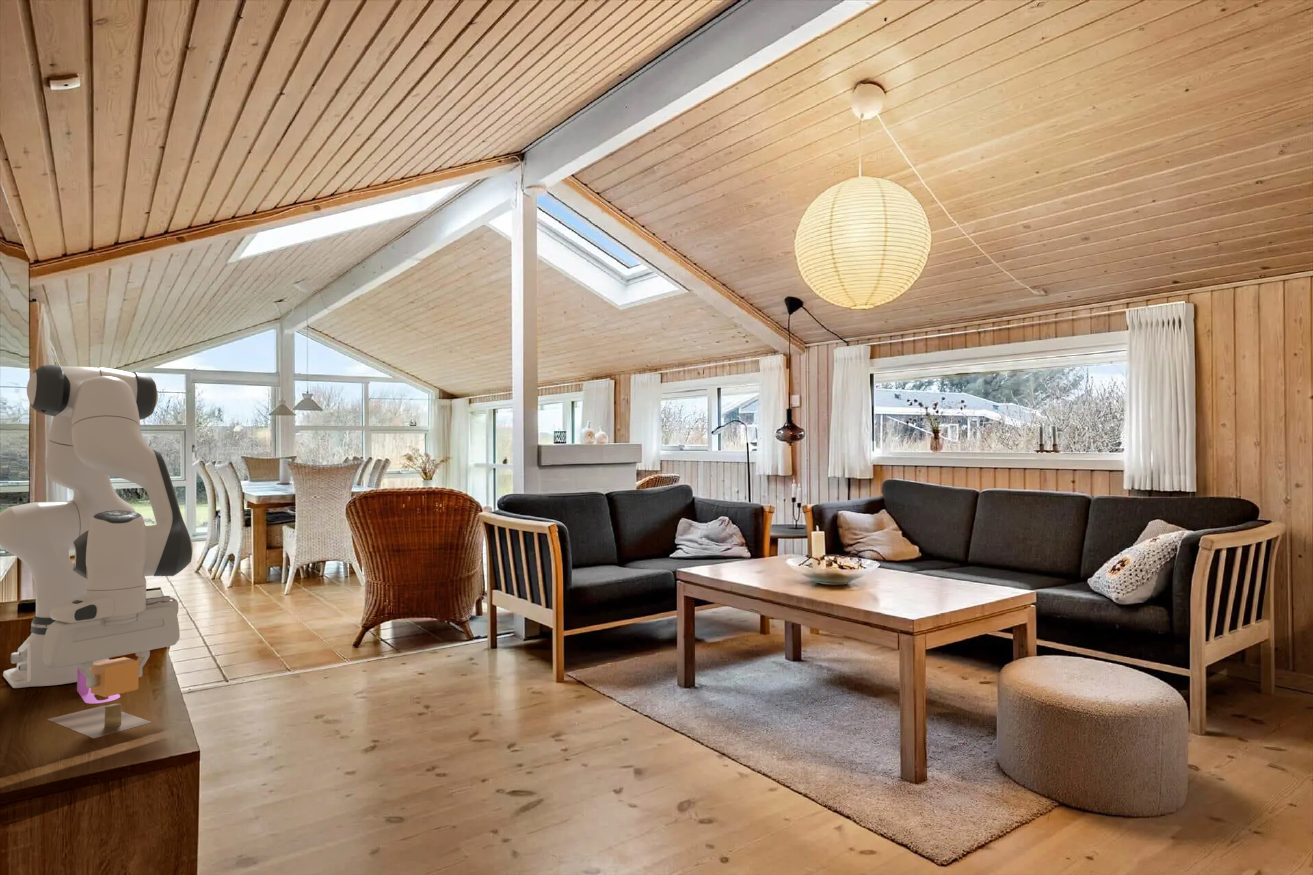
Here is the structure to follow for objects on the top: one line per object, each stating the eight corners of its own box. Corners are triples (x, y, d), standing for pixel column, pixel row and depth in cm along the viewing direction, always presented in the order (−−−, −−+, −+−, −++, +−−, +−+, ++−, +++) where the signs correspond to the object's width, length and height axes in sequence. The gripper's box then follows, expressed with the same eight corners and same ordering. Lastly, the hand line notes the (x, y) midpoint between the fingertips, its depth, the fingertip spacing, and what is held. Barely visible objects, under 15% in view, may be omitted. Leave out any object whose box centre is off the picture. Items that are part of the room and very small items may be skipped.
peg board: (46, 726, 135) (47, 699, 135) (104, 711, 143) (104, 686, 143) (93, 745, 126) (94, 717, 126) (152, 729, 133) (152, 702, 134)
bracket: (76, 697, 152) (77, 663, 152) (110, 691, 156) (111, 657, 156) (87, 712, 143) (88, 676, 143) (122, 706, 146) (123, 670, 147)
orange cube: (90, 692, 131) (91, 663, 131) (123, 685, 135) (124, 657, 135) (104, 697, 128) (105, 667, 128) (138, 689, 133) (138, 660, 133)
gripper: (169, 592, 143) (168, 665, 142) (38, 611, 125) (37, 694, 125) (187, 595, 140) (186, 670, 139) (55, 614, 122) (53, 700, 122)
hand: (114, 681), depth 132 cm, fingers closed on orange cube, 5 cm apart
